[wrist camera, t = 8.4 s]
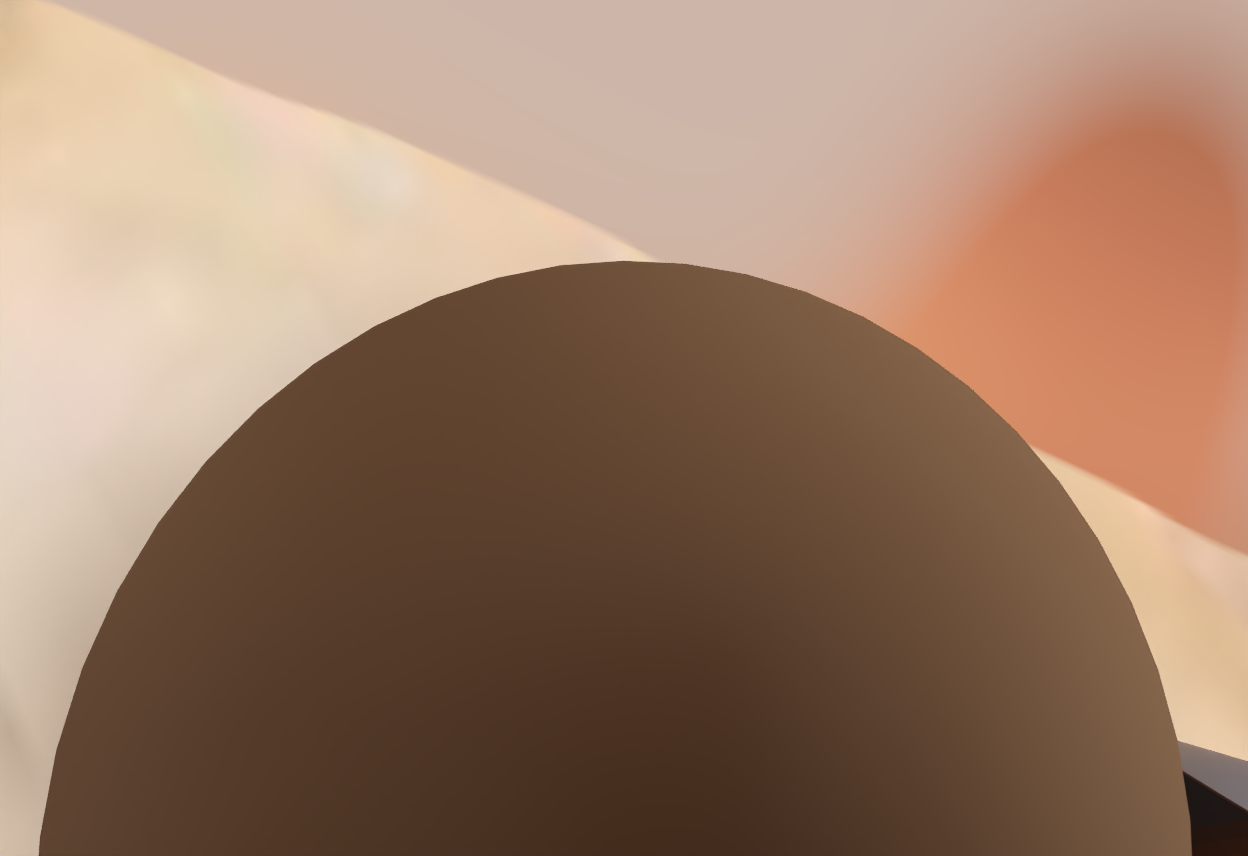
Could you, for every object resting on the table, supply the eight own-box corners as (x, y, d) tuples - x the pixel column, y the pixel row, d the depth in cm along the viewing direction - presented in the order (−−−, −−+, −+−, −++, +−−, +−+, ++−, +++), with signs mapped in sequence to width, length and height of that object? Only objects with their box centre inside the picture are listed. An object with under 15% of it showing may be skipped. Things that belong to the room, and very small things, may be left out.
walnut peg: (574, 743, 14) (573, 2013, 2) (455, 591, 15) (-213, 732, 2) (716, 611, 15) (1399, 832, 3) (598, 472, 16) (694, 95, 3)
